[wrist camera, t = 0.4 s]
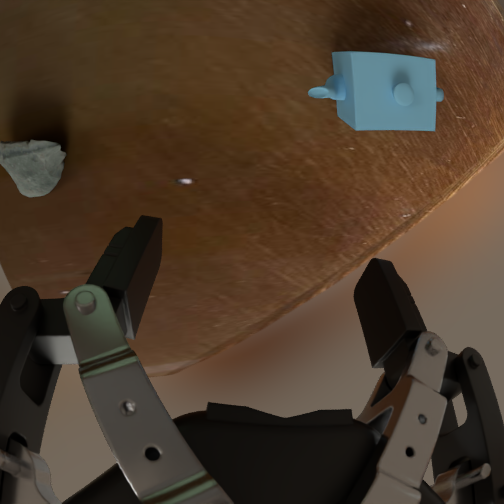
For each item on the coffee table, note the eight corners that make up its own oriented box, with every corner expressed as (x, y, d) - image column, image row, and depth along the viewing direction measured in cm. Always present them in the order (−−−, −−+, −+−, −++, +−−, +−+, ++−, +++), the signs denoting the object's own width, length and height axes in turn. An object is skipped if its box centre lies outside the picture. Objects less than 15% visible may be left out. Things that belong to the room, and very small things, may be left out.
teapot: (299, 116, 24) (314, 137, 18) (291, 54, 21) (304, 51, 15) (414, 114, 23) (456, 136, 17) (413, 57, 20) (458, 63, 14)
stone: (90, 183, 30) (61, 112, 22) (75, 208, 27) (38, 135, 19) (34, 186, 30) (4, 128, 22) (20, 207, 28) (-16, 149, 20)
